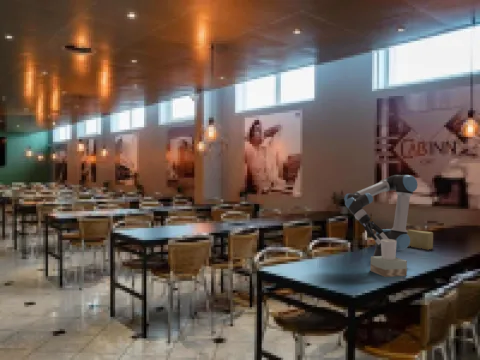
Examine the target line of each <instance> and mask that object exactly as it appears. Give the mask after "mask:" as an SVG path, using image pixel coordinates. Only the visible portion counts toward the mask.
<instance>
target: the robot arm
mask: <svg viewBox="0 0 480 360" xmlns="http://www.w3.org/2000/svg"><path fill="white" fill-rule="evenodd" d="M417 189H418V181H417V179H416V178H415V177H414V176H413V175H411V174H410V175H409V174H402V175H401V174H394V175H391V176H387V177H385V178H383V179H381V180H380V181H379V182H377V183H375V184H373V185H372V184H371V185H370V186H367V187H364V188H363V189H360V190H358V191H355V192H353V193H346V194H345V195H344V198H343V200H344V205H345V206H346V208H347V209H348V210H349V211H350V212H351V214H352V216H354V218H355V219H356V220H357V221H358V223H360V224H361V225H362V227H363V228H364V230H365V231H366V233H367V235H368V237H369V238H372V239H373V240H374V242H375V249H374V252H373V256H372V257H374V256H382V253H381V243H382V242H381V239H392V240H396V241H397V243H396V250H399V251H400V250H403V251H404V250H406V249H407V248H408V247H410V246H409V244H410V238H409V236H408V235H407V233H408V232H407V230H408V229H407V223H408V214H409V209H410V208H409V207H410V201H411V196H413V193H414V192H416V191H417ZM390 191H395V193H396V195H397V197H396V204H395V205H396V206H395V212H394V219H393V220H394V221H393V226H392V228H386V229H385V228H383V229H382V228H381V227H380V226H379V225H378V224H376V223H375V222H374V221H373V220H372V221H371V216H370V215H369V214H367V211H365V209H363V208H364V207H366V206H369V205H370V204H371V203H373V201H374V196H376V195H379V194H381V193H384V192H385V193H386V192H390ZM374 231H375V232H376V233H374Z"/></svg>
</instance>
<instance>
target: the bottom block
mask: <svg viewBox="0 0 480 360" xmlns="http://www.w3.org/2000/svg"><path fill="white" fill-rule="evenodd" d="M369 270H370V272H372V273H375V274H377V275H380V276H382V277H385V278H388V277H389V278H391V277H405V276H407V272H408V271H407V270H408V268H407V269H390V270H384V269H382V268H379V267H377V266H374V265H372V264H371V263H370V268H369Z"/></svg>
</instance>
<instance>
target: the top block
mask: <svg viewBox="0 0 480 360" xmlns="http://www.w3.org/2000/svg"><path fill="white" fill-rule="evenodd" d="M371 264H372V265H374V266H377V267H379V268H382V269H384V270H390V269H407V270H408V268H407V267H408V260H405V259H402V258H400V257H397V256H395V259H394V260H386V259H382V256H374V257H373V256H370V265H371Z"/></svg>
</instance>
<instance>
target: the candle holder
mask: <svg viewBox="0 0 480 360" xmlns="http://www.w3.org/2000/svg"><path fill="white" fill-rule="evenodd" d="M381 242H382V243H381V253H382V259H386V260H394V259H395V257H397V256H396V254H397V249H396V243H397V241H396V240H392V239H381Z"/></svg>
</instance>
